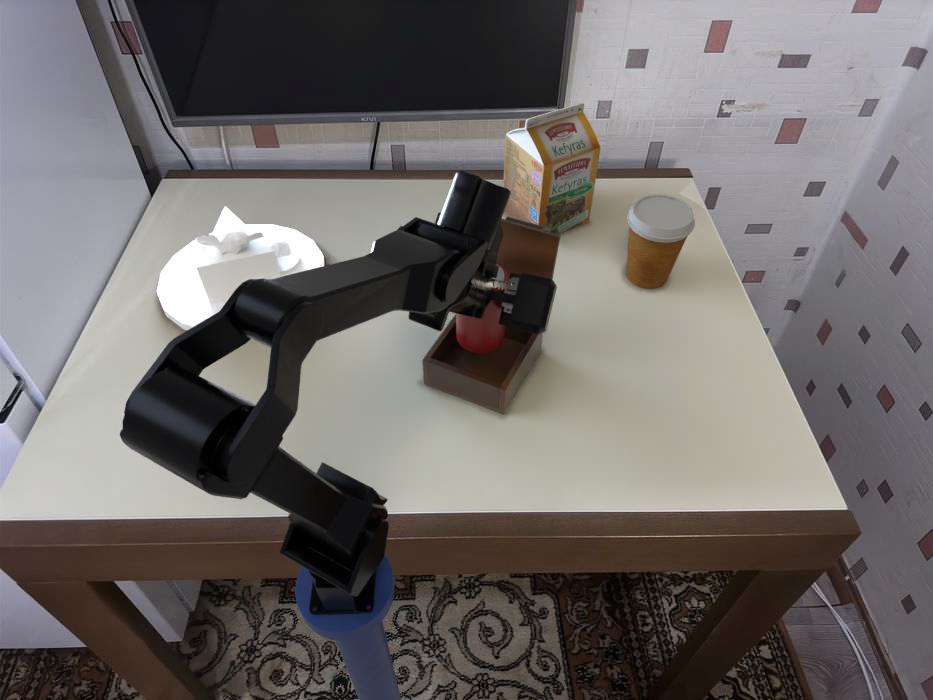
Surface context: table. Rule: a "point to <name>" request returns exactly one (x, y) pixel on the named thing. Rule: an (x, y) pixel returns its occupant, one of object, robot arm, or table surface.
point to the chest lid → (527, 248)
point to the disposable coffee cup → (656, 238)
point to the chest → (481, 367)
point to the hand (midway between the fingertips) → (484, 295)
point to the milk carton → (552, 169)
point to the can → (483, 325)
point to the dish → (230, 266)
